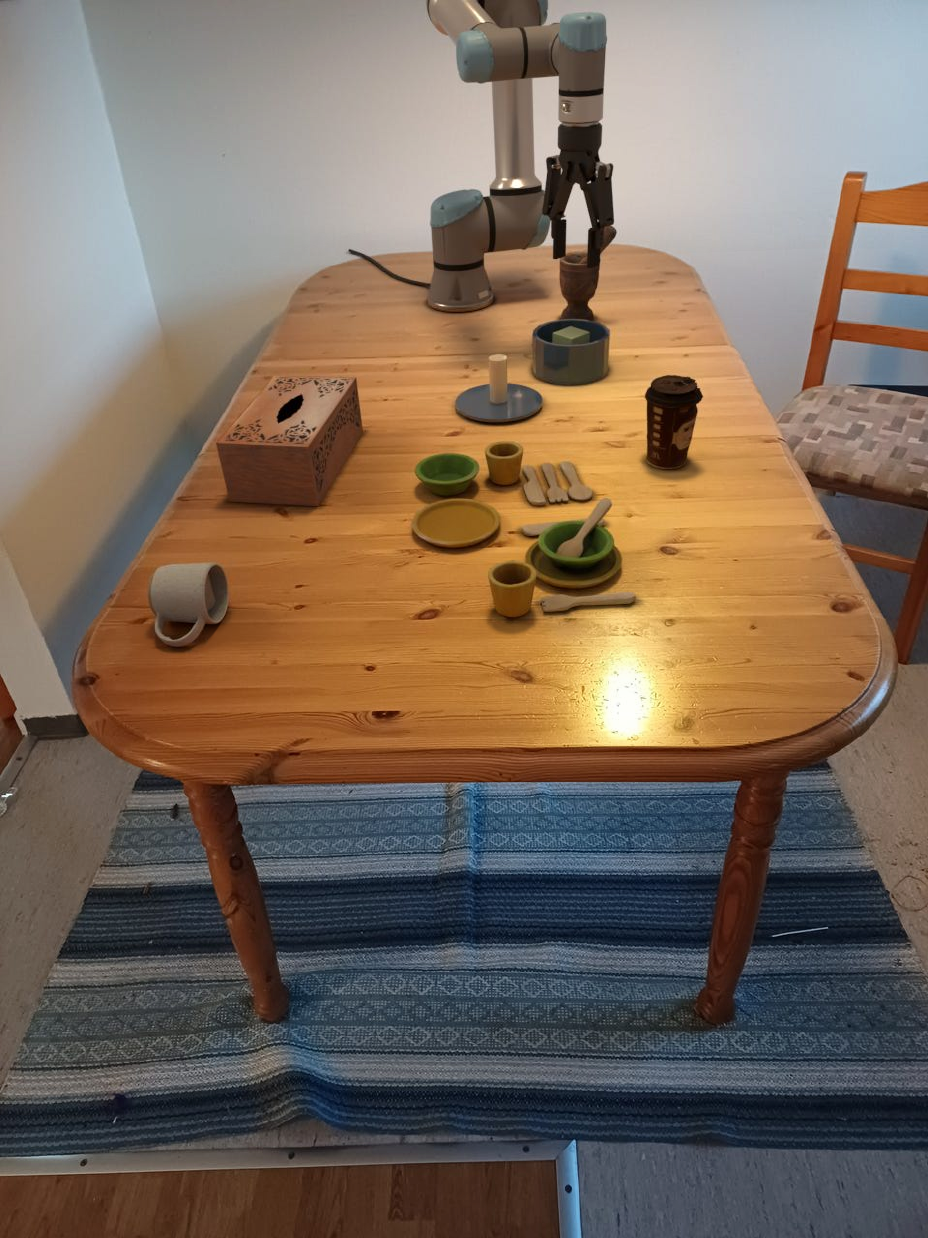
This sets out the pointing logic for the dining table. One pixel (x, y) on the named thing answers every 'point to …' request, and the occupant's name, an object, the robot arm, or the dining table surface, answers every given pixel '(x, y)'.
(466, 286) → the robot arm
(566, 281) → the mortar and pestle
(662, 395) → the coffee cup
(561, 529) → the tableware set
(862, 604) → the dining table surface
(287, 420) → the tissue box cover
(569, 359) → the bowl
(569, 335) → the block
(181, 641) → the ceramic mug
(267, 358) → the dining table surface
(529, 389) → the bowl lid
